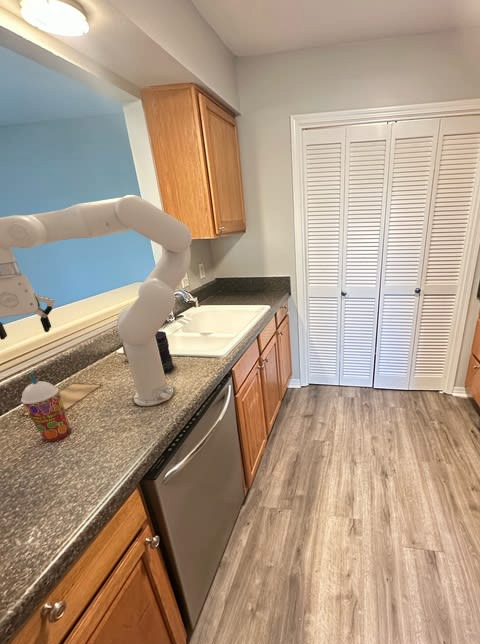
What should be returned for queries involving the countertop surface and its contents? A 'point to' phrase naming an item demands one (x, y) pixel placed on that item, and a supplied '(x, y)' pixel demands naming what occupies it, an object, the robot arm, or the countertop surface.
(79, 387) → the board
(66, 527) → the countertop surface
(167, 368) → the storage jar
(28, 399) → the smoothie
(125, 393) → the countertop surface
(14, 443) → the countertop surface
